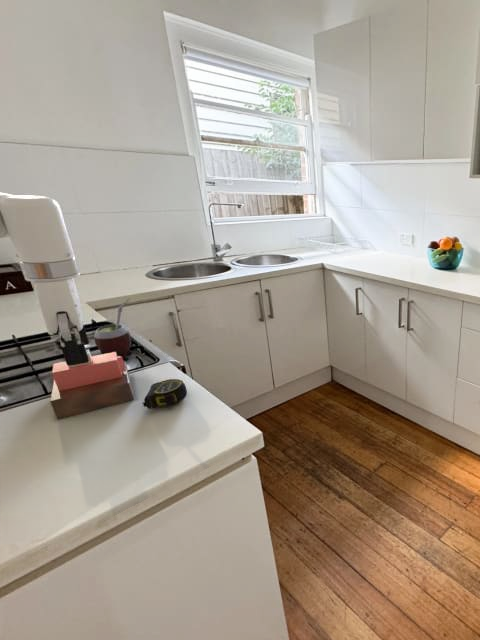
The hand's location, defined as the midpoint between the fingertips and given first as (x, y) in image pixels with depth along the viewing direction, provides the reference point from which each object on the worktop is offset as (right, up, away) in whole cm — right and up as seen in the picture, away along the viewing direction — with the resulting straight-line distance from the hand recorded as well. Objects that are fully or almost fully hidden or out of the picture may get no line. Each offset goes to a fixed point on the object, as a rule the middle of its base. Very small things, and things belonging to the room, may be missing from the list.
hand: (79, 354), depth 76 cm
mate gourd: (-7, -2, +21) cm, 22 cm away
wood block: (0, -9, +4) cm, 10 cm away
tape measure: (+16, -10, +2) cm, 19 cm away
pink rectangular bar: (0, -5, +2) cm, 6 cm away
